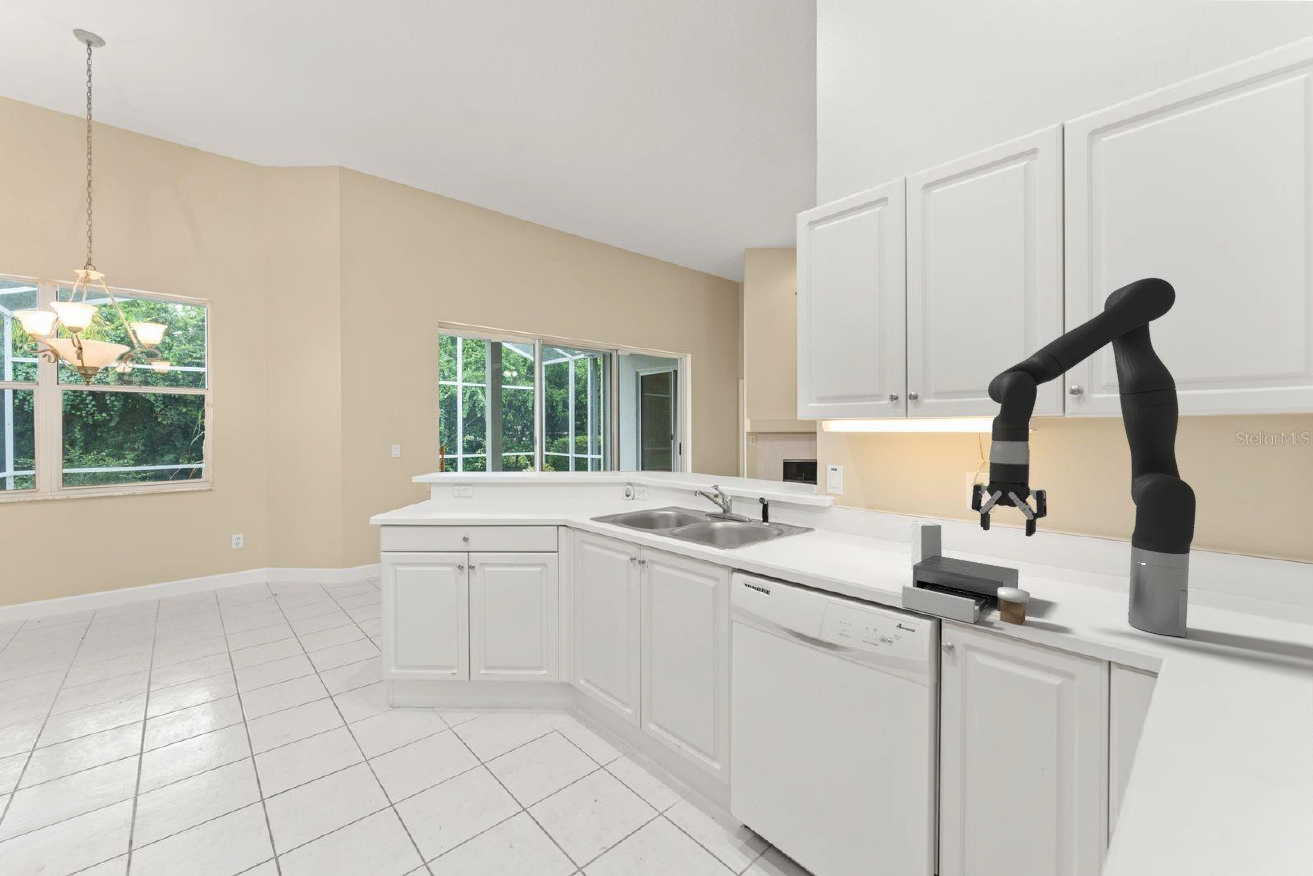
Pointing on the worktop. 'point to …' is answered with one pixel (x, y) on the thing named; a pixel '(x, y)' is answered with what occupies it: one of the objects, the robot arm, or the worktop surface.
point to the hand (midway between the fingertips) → (1006, 532)
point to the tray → (944, 602)
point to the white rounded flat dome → (1013, 595)
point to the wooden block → (1012, 612)
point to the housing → (964, 575)
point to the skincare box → (924, 541)
